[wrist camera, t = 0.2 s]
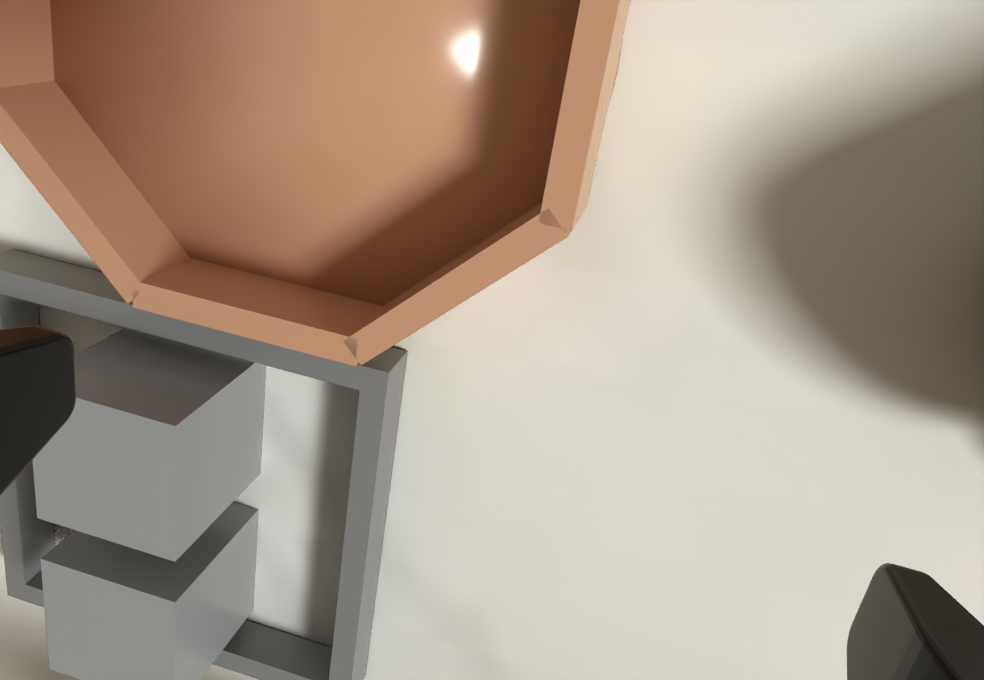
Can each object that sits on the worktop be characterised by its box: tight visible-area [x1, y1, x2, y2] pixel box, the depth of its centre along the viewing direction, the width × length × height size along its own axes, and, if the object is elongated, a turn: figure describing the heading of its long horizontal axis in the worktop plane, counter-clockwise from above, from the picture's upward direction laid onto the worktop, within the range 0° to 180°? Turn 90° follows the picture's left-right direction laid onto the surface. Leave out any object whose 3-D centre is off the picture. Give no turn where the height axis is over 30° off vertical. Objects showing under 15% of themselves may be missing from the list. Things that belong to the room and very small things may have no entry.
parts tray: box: [0, 249, 408, 680], centre depth 28 cm, size 13×14×2 cm
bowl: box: [0, 0, 631, 366], centre depth 21 cm, size 16×16×3 cm
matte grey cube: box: [33, 327, 266, 562], centre depth 26 cm, size 4×4×5 cm
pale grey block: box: [41, 502, 259, 680], centre depth 28 cm, size 4×4×5 cm
